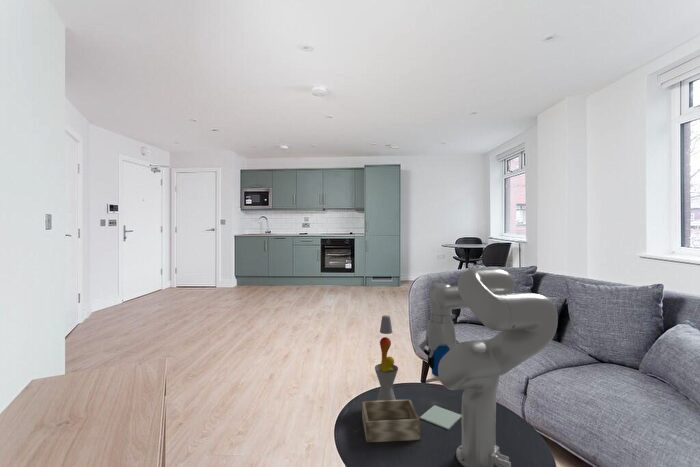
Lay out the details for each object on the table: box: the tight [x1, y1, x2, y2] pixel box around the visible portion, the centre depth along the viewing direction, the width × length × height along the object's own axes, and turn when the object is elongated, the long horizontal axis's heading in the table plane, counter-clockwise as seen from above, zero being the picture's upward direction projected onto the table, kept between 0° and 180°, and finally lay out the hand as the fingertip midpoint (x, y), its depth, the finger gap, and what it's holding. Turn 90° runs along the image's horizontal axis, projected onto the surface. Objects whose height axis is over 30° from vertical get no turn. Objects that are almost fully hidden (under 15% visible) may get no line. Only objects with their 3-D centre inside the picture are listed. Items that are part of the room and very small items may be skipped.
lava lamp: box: [374, 314, 399, 401], centre depth 134 cm, size 9×9×35 cm
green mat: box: [419, 404, 462, 431], centre depth 126 cm, size 11×11×1 cm
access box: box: [361, 398, 421, 443], centre depth 119 cm, size 18×14×6 cm
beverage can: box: [431, 345, 449, 379], centre depth 126 cm, size 6×6×12 cm
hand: (440, 366), depth 126 cm, fingers closed on beverage can, 6 cm apart
